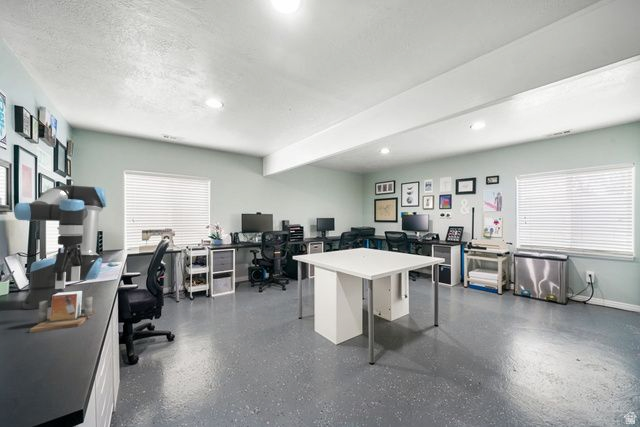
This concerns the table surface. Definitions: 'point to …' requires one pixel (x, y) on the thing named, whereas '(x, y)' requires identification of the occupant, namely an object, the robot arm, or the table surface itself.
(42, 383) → the table surface
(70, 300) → the small box
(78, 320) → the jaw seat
